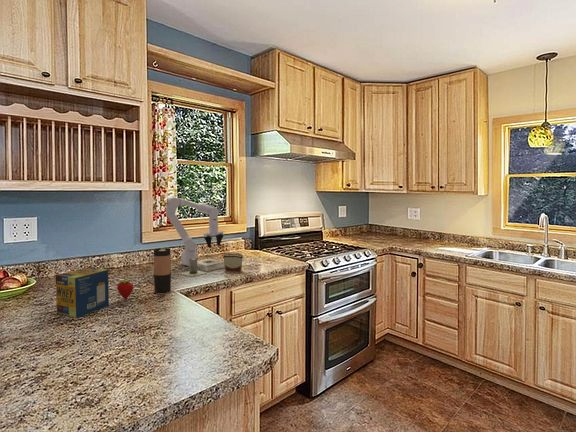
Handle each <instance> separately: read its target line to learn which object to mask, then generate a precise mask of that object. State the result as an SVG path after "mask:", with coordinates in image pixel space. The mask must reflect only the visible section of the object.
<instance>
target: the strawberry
mask: <svg viewBox="0 0 576 432" xmlns="http://www.w3.org/2000/svg"><path fill="white" fill-rule="evenodd" d="M116 289H117V292H118V293H119V295H120V296H121V297H122V298H123V299H124V300H127V299H128V298H129V297H130V296H131V294H132V292H133V291H134V284H133V283H132V282H131V280H130V279H127V280H126V279H125V278H123V279H122V280H121V281H118V282H117V286H116Z"/></svg>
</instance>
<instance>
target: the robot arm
mask: <svg viewBox="0 0 576 432" xmlns="http://www.w3.org/2000/svg"><path fill="white" fill-rule="evenodd" d="M165 204H166V205H165V216H166V217H167V218H168V220H169V222H170V223H171V224H172V226H173V227H174V230H175V231H176V232H177V233H178V235H179V237H180V238H181V240H182V241H183V245H184V247H185V248H184V249H183V250H182V251H181V253H180V256H181V257H180V258H181V259H180V261H181V262H180V265H182V266H183V265H184V266H187V267H189V259H191V258H197V247H198V244H197V242H196V241H195V240H193V239H192V237H191V236H190V235H189V233H188V232H187V230H186V229H185V227H184V226H183V224H182V223H181V221H180V220H179V218H178V216H177V215H176V211H177V209H178V208H179V207H183V206H185V207H186V206H187V207H189V208H193V209H196V211H197V212H198V213H202V214H205V215H208V232H205V233H203V239H204V240H205V242H206V246H207V248H209V249H211V248H212V239H213V237H212V236H215V239H216V246H217V247H218V246H219V247H221V242H222V240H223V239H224V238H223V237H224V231H223V230H222V231H220V230H219V214H220V211H219V209H218V208H217V207H215V206H213V205H209V204H206V202H199V203H196V202H193V201H190V200H187V199H185V198H181V197H180V198H179V197H176V196H171V197H168V199H167V201H166V203H165Z"/></svg>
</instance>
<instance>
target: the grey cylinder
mask: <svg viewBox="0 0 576 432" xmlns="http://www.w3.org/2000/svg"><path fill="white" fill-rule="evenodd" d="M197 261H198V258H197V257H196V258H191V259H189V266H188V267H189V273H190V274H196V273H197V271H198V269H197Z"/></svg>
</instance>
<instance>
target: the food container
mask: <svg viewBox="0 0 576 432" xmlns="http://www.w3.org/2000/svg"><path fill="white" fill-rule="evenodd" d="M222 259H223V261H224V265H225V268H224V272H225V273H227V272H228V273H242V266H243V260H244V259H245V258H244V255H243V254H242V253H237V252H235V253H229V252H228V253H225V254H223V255H222Z"/></svg>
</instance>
